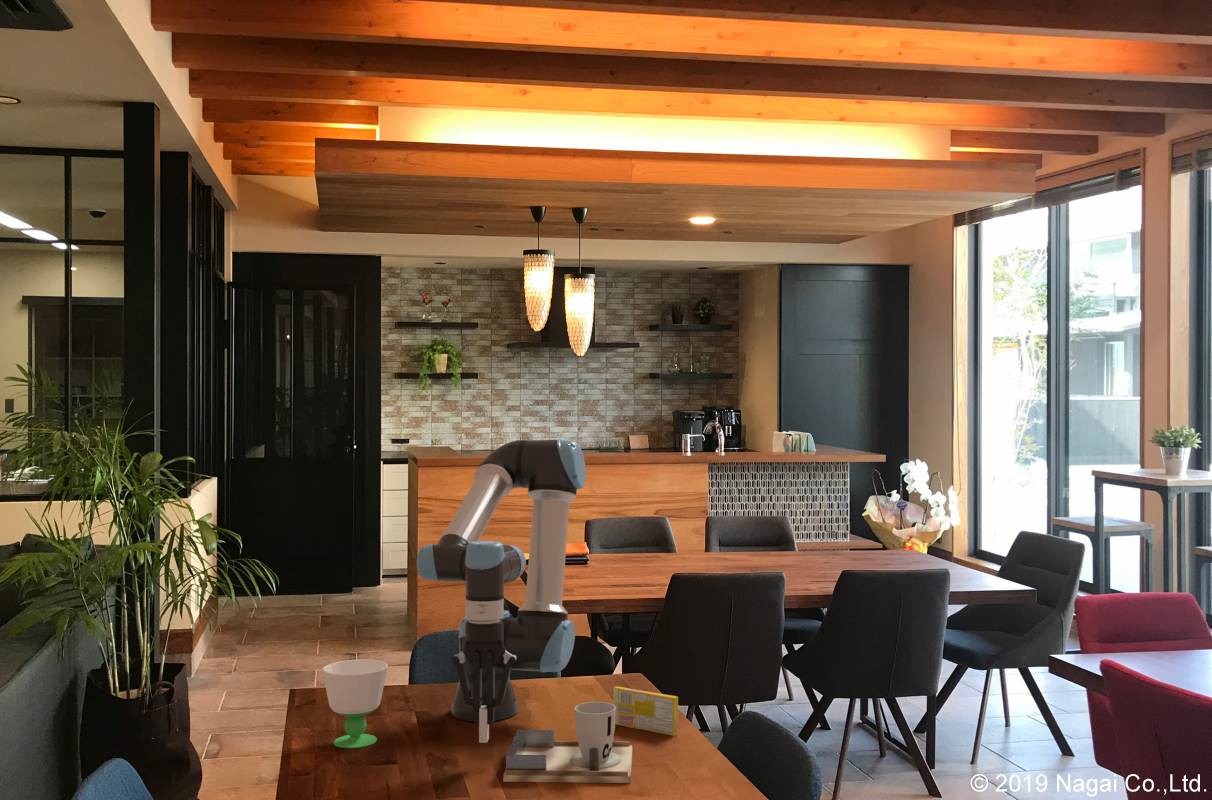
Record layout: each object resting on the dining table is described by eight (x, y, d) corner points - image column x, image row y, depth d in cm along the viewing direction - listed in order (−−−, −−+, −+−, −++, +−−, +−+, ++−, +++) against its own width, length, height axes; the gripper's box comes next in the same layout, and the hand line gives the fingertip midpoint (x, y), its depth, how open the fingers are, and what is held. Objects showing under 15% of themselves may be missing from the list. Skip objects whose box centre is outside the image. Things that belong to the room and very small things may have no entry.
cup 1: (333, 731, 221) (333, 659, 221) (395, 731, 220) (395, 659, 221) (313, 752, 207) (313, 674, 207) (379, 752, 207) (379, 675, 207)
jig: (503, 781, 190) (503, 753, 190) (516, 750, 208) (516, 724, 208) (630, 783, 189) (630, 755, 189) (632, 751, 207) (632, 725, 207)
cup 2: (611, 767, 193) (611, 714, 193) (570, 764, 195) (570, 712, 195) (619, 753, 201) (619, 702, 201) (580, 750, 203) (579, 700, 203)
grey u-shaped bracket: (506, 773, 190) (506, 756, 191) (517, 745, 207) (517, 729, 207) (546, 773, 190) (546, 756, 190) (554, 745, 206) (554, 730, 207)
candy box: (679, 734, 218) (678, 696, 218) (674, 737, 216) (673, 698, 216) (617, 722, 227) (617, 685, 227) (611, 724, 225) (611, 687, 226)
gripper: (448, 623, 196) (447, 746, 195) (514, 624, 195) (514, 746, 195) (455, 616, 203) (455, 734, 203) (519, 617, 203) (519, 735, 202)
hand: (484, 740), depth 199 cm, fingers closed
